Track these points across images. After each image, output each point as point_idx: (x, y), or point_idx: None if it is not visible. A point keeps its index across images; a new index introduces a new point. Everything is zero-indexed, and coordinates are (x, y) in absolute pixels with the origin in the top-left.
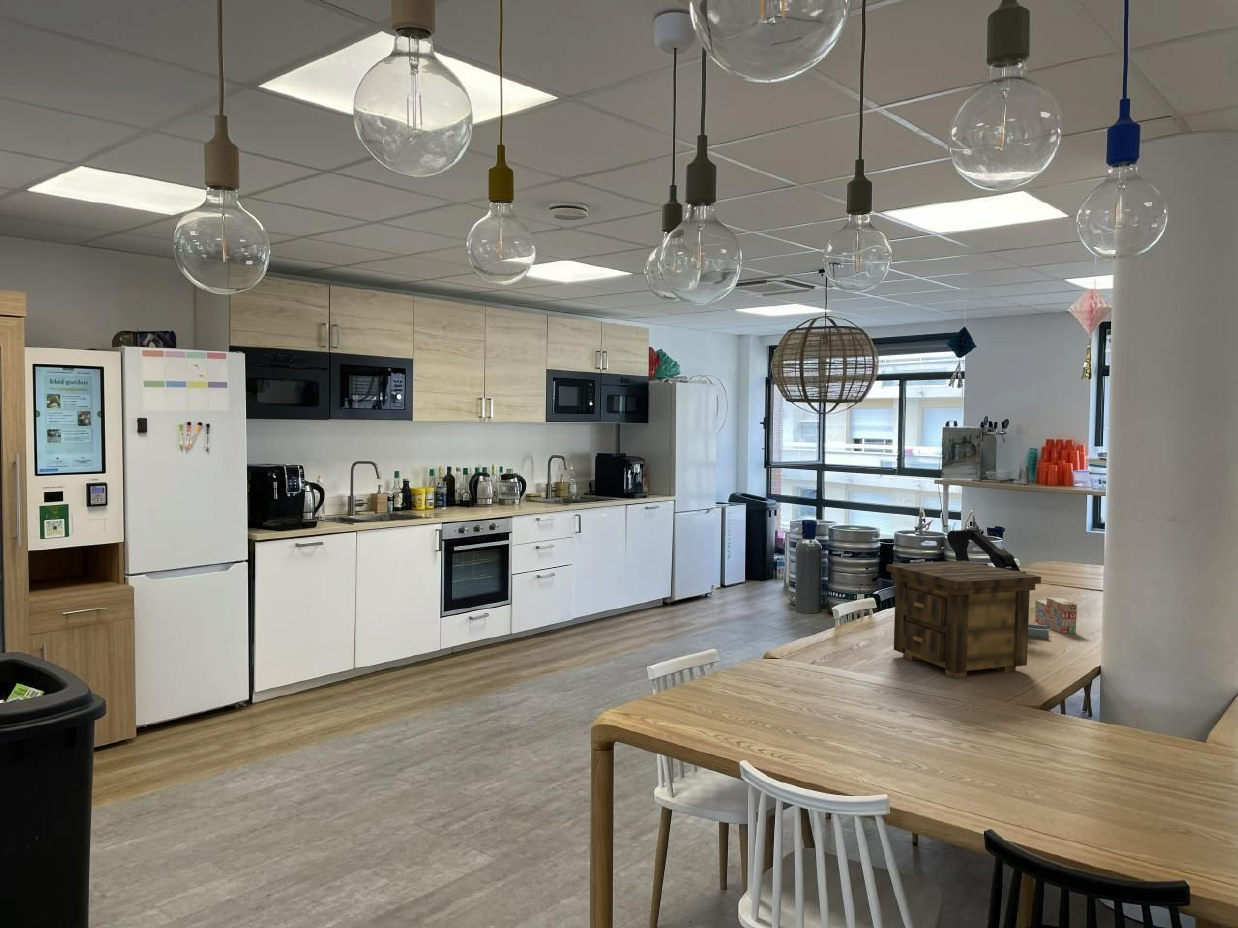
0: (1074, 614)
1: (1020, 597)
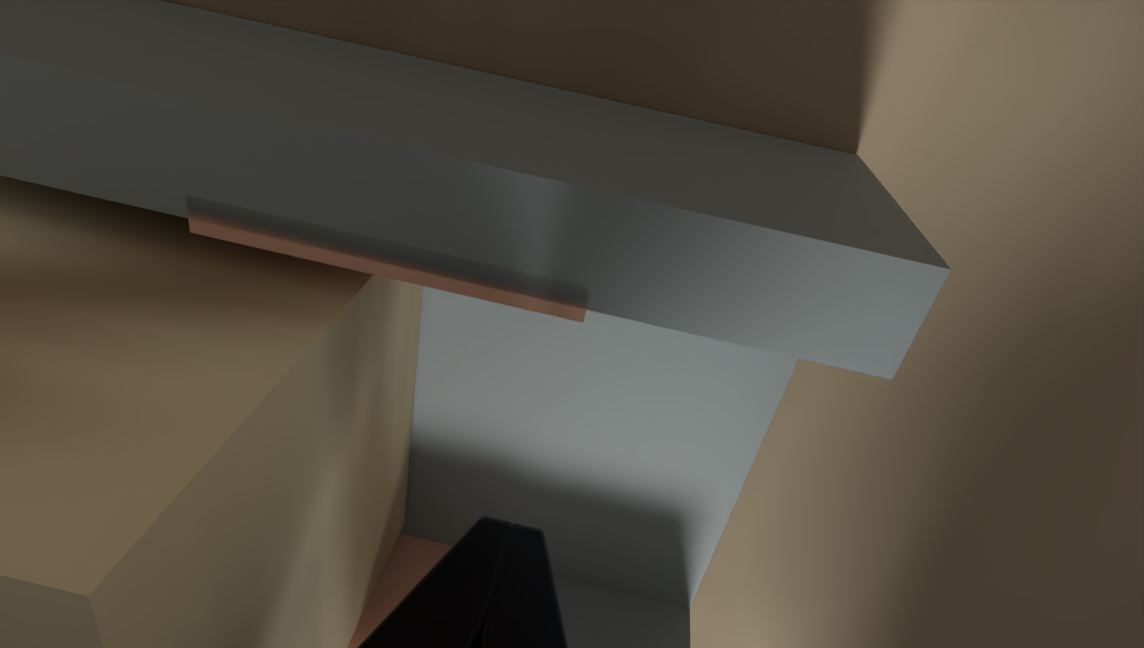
0: None
1: None
